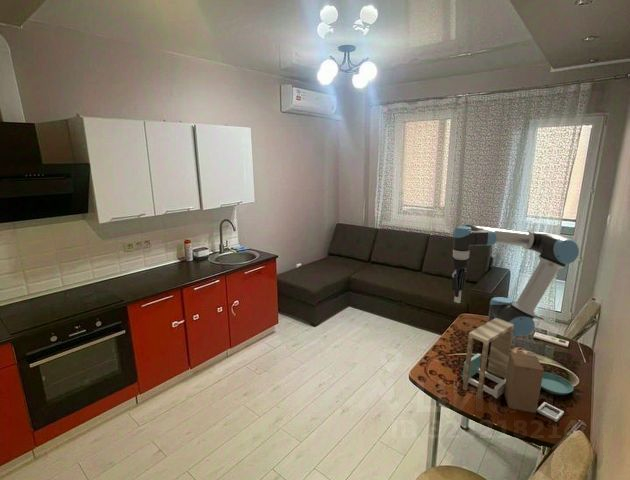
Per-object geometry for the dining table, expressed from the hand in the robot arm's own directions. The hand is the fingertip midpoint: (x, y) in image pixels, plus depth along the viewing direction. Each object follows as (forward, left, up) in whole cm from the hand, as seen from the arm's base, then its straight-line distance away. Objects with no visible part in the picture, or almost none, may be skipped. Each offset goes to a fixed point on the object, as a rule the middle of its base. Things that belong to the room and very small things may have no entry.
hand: (457, 301), depth 174 cm
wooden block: (+13, +39, -28) cm, 50 cm away
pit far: (+9, +49, -28) cm, 57 cm away
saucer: (-10, +43, -28) cm, 52 cm away
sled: (+12, +24, -28) cm, 39 cm away
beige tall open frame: (+12, +24, -28) cm, 39 cm away
